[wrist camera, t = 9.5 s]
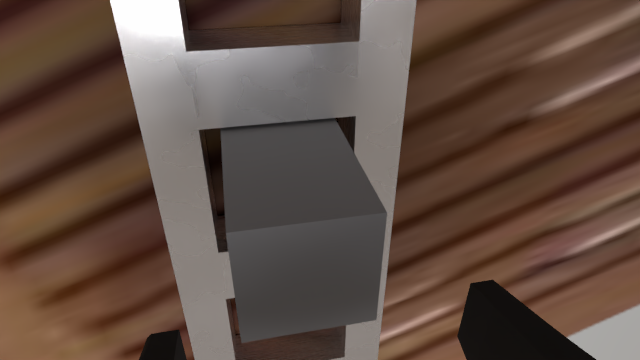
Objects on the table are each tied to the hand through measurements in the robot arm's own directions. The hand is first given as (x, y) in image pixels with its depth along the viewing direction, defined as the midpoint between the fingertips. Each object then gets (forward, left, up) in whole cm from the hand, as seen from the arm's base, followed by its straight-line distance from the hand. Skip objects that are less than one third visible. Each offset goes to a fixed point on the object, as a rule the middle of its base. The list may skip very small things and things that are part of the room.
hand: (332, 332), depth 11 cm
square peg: (0, 0, -9) cm, 9 cm away
